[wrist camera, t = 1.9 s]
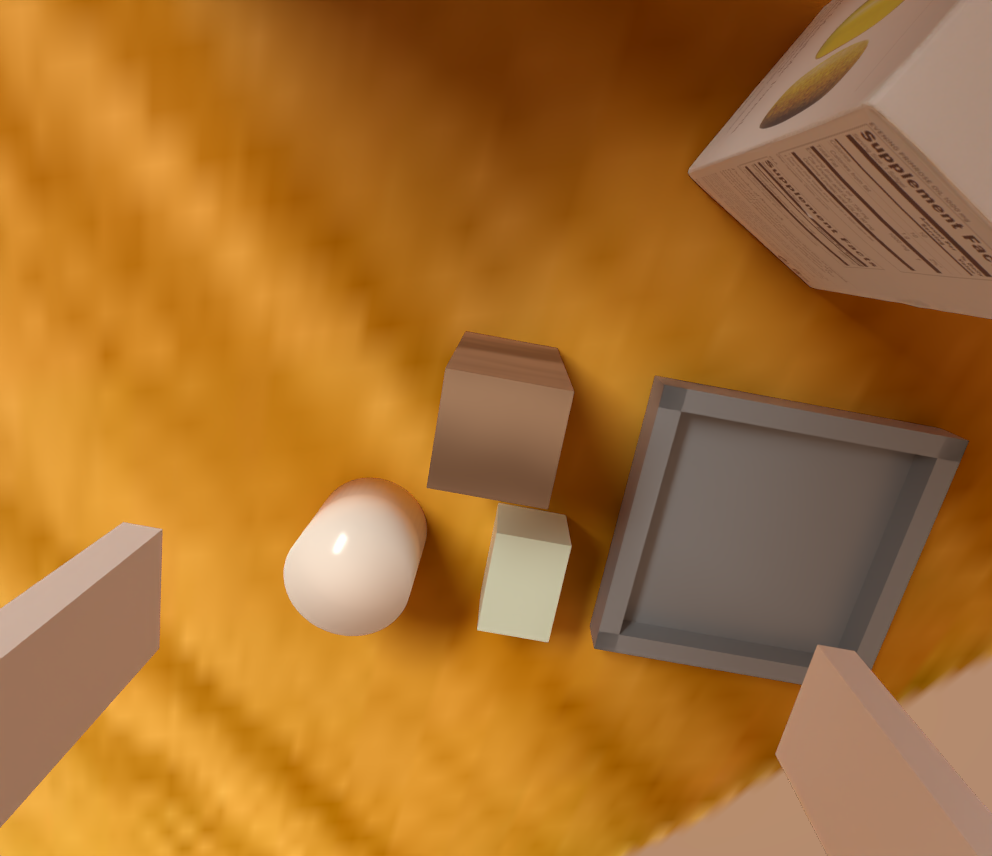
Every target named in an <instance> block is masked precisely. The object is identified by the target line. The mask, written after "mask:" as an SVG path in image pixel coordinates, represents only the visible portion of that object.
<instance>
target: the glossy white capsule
mask: <svg viewBox="0 0 992 856" xmlns="http://www.w3.org/2000/svg"><path fill="white" fill-rule="evenodd" d="M426 538H427V523H426V518H425V515H424V512H423V510H422V508H421V506H420V505H419V503H418V502H417V500H416V499H415V498H414V497H413V496H412V495H411V494H410V493H409V492H408V491H407V490H405V489H404V488H402V487H401V486H399V485H397V484H395V483H393V482H390V481H387V480H384V479H379V478H361V479H356V480H352V481H350V482H347V483H345V484H343V485H342V486H340V487H338V488H337V489H336V490H335V491H334V492H333V493H332V494H331V495H330V496H329V497H328V499H327V500H326V501H325V503H324V504H323V505H322V507H321V508H320V510H319V511H318V512H317V514H316V515H315V516H314V518H313V519H312V521H311V522H310V523H309V525H308V526H307V527H306V529H305V530H304V531H303V533H302V534H301V536H300V537H299V538H298V540H297V541H296V542H295V544H294V545H293V547H292V548H291V549H290V551H289V553H288V555H287V558H286V561H285V566H284V583H285V588H286V591H287V594H288V596H289V598H290V600H291V602H292V604H293V605H294V607H295V608H296V609H297V610H298V612H299V613H300V614H301V615H302V616H303V617H304V618H305V619H307V620H308V621H309V622H310V623H312V624H314V625H315V626H317V627H319V628H321V629H323V630H325V631H328V632H331V633H334V634H339V635H346V636H360V635H366V634H371V633H374V632H377V631H379V630H381V629H383V628H385V627H387V626H388V625H390V624H391V623H392V622H394V621H395V620H396V619H397V618H398V617H399V615H400V614H401V613H402V611H403V610H404V608H405V606H406V604H407V602H408V599H409V596H410V592H411V589H412V586H413V582H414V579H415V576H416V572H417V569H418V566H419V562H420V559H421V556H422V552H423V549H424V546H425V542H426Z"/></svg>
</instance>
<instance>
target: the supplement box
mask: <svg viewBox="0 0 992 856" xmlns="http://www.w3.org/2000/svg"><path fill="white" fill-rule="evenodd" d="M688 174H689V176H690V177H691V178H692V179H693V180H694V181H695V182H696V183H697V184H698V185H699V186H700V187H701V188H702V189H704V190H705V191H706V192H707V193H708V194H709V195H710V196H711V197H712V198H713V199H714V200H716V201H717V202H718V203H719V204H720V205H721V206H722V207H723V208H724V209H725V210H726V211H728V212H729V213H730V214H731V215H732V216H733V217H734V218H735V219H736V220H737V221H738V222H740V223H741V224H742V225H743V226H744V227H745V228H746V229H747V230H748V231H749V232H751V233H752V234H753V235H754V236H755V237H756V238H757V239H758V240H759V241H760V242H761V243H763V244H764V245H765V246H766V247H767V248H768V249H769V250H770V251H771V252H772V253H773V254H775V255H776V256H777V257H778V258H779V259H780V260H781V261H782V262H783V263H784V264H786V265H787V266H788V267H789V268H790V269H791V270H792V271H793V272H794V273H796V274H797V275H798V276H799V277H800V278H801V279H802V280H803V281H804V282H805V283H806V284H808V285H809V286H810V287H812V288H815V289H820V290H826V291H832V292H839V293H844V294H849V295H855V296H861V297H867V298H873V299H879V300H884V301H891V302H898V303H904V304H907V305H911V306H915V307H920V308H928V309H934V310H939V311H944V312H952V313H959V314H964V315H970V316H976V317H982V318H987V319H992V0H832V1H831V2H830V3H828V4H827V5H826V6H825V7H824V8H823V9H822V10H821V11H820V12H819V13H818V15H817V16H816V17H815V18H814V20H813V21H812V22H811V23H810V24H809V26H808V27H807V28H806V29H805V30H804V31H803V33H802V34H801V35H800V36H799V37H798V39H797V40H796V41H795V42H794V43H793V44H792V46H791V47H790V48H789V49H788V50H787V52H786V53H785V54H784V55H783V56H782V57H781V59H780V60H779V61H778V62H777V63H776V64H775V66H774V67H773V68H772V69H771V70H770V71H769V73H768V74H767V75H766V76H765V77H764V79H763V80H762V81H761V82H760V83H759V84H758V86H757V87H756V88H755V89H754V90H753V92H752V93H751V94H750V95H749V96H748V98H747V99H746V100H745V101H744V102H743V104H742V105H741V106H740V107H739V109H738V110H737V111H736V112H735V113H734V115H733V116H732V117H731V118H730V119H729V121H728V122H727V123H726V124H725V125H724V127H723V128H722V129H721V130H720V131H719V133H718V134H717V135H716V136H715V137H714V139H713V140H712V141H711V142H710V143H709V145H708V146H707V147H706V148H705V149H704V151H703V152H702V153H701V154H700V155H699V157H698V158H697V159H696V160H695V162H694V163H693V164H692V165H691V167H690V168H689V170H688Z"/></svg>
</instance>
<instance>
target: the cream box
mask: <svg viewBox="0 0 992 856" xmlns="http://www.w3.org/2000/svg"><path fill="white" fill-rule="evenodd" d="M571 547H572V546H571V540H570V535H569V529H568V524H567V518H566V515H563V514H558V513H552V512H547V511H541V510H535V509H530V508H524V507H519V506H513V505H508V504H502V503H498V508H497V513H496V518H495V523H494V528H493V533H492V538H491V543H490V548H489V553H488V559H487V564H486V569H485V574H484V579H483V584H482V589H481V596H480V606H479V616H478V625H477V630H480V631H486V632H491V633H497V634H503V635H508V636H514V637H520V638H526V639H531V640H537V641H543V642H549V638H550V634H551V630H552V625H553V621H554V617H555V613H556V609H557V605H558V601H559V596H560V592H561V588H562V584H563V580H564V576H565V572H566V567H567V563H568V559H569V555H570V551H571Z"/></svg>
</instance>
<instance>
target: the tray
mask: <svg viewBox="0 0 992 856" xmlns="http://www.w3.org/2000/svg"><path fill="white" fill-rule="evenodd" d="M968 442H969V441H968V440H966V439H964V438H962V437H959V436H957V435H955V434H952V433H950V432H948V431H946V430H943V429H941V428H936V427H931V426H925V425H920V424H914V423H909V422H903V421H898V420H893V419H887V418H882V417H876V416H871V415H865V414H860V413H855V412H849V411H844V410H838V409H833V408H828V407H822V406H817V405H811V404H806V403H800V402H795V401H790V400H784V399H779V398H773V397H768V396H762V395H757V394H752V393H746V392H741V391H735V390H730V389H725V388H719V387H714V386H708V385H703V384H697V383H692V382H687V381H681V380H676V379H670V378H665V377H659V376H655V378H654V382H653V386H652V390H651V394H650V397H649V401H648V405H647V409H646V413H645V416H644V420H643V424H642V428H641V432H640V436H639V439H638V443H637V447H636V451H635V455H634V459H633V462H632V466H631V470H630V474H629V478H628V482H627V485H626V489H625V493H624V497H623V501H622V505H621V508H620V512H619V516H618V520H617V524H616V528H615V531H614V535H613V539H612V543H611V547H610V550H609V554H608V558H607V562H606V566H605V570H604V573H603V577H602V581H601V585H600V589H599V593H598V596H597V600H596V604H595V608H594V612H593V616H592V619H591V623H590V630H591V635H592V640H593V645H594V649H600V650H605V651H611V652H617V653H623V654H628V655H634V656H640V657H646V658H651V659H657V660H663V661H669V662H674V663H680V664H686V665H692V666H698V667H703V668H709V669H715V670H721V671H726V672H732V673H738V674H744V675H749V676H755V677H761V678H767V679H772V680H778V681H784V682H790V683H795V684H801V685H802V683H803V681H804V678H805V676H806V673H807V670H808V668H809V665H810V663H811V660H812V657H813V655H814V652H815V650H816V647H817V645H823V646H829V647H835V648H840V649H846V650H852V651H855V652H856V653H857V654H858V655H859V657H860V658H861V659H862V660H863V661H864V663H865V664H866V665H867V666H868V667H869V669H870V670H871V669H872V667H873V664H874V662H875V660H876V657H877V655H878V653H879V650H880V648H881V646H882V643H883V641H884V639H885V636H886V634H887V632H888V629H889V627H890V625H891V622H892V620H893V618H894V615H895V613H896V611H897V608H898V606H899V604H900V601H901V599H902V596H903V594H904V592H905V589H906V587H907V585H908V582H909V580H910V578H911V575H912V573H913V571H914V568H915V566H916V564H917V561H918V559H919V557H920V554H921V552H922V550H923V547H924V545H925V543H926V540H927V538H928V536H929V533H930V531H931V529H932V526H933V524H934V522H935V519H936V517H937V515H938V512H939V510H940V508H941V505H942V503H943V501H944V498H945V496H946V494H947V491H948V489H949V487H950V484H951V482H952V480H953V477H954V475H955V472H956V470H957V468H958V465H959V463H960V461H961V458H962V456H963V454H964V451H965V449H966V447H967V444H968Z"/></svg>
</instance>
